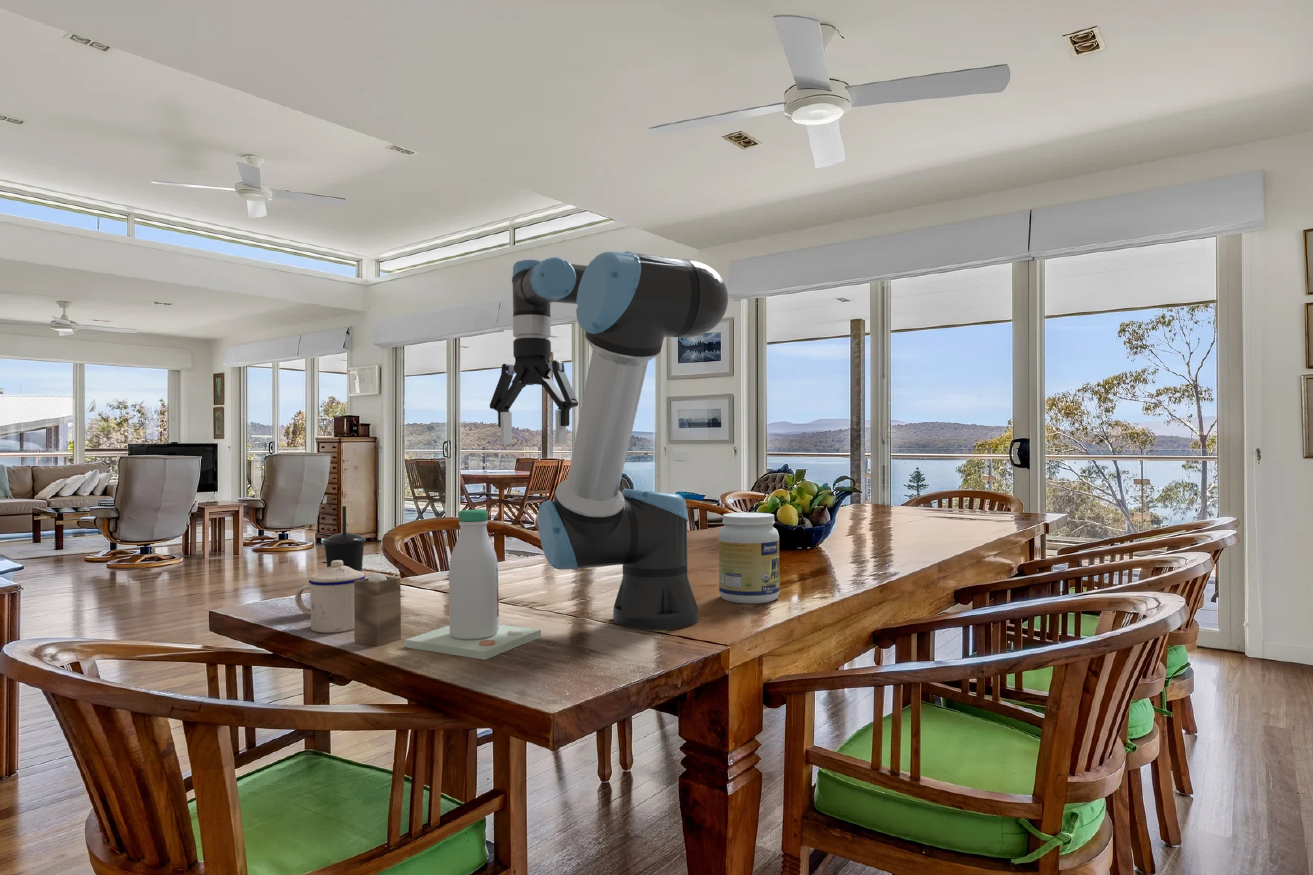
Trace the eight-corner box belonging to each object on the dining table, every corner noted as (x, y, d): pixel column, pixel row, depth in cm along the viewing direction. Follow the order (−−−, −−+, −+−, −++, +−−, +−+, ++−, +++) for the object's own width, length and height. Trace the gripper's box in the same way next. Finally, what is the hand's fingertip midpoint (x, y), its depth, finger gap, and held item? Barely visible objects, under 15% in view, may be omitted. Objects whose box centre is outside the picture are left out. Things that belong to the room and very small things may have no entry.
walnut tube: (400, 638, 123) (400, 577, 123) (377, 646, 119) (376, 583, 119) (378, 635, 126) (378, 575, 126) (354, 642, 121) (354, 580, 121)
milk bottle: (495, 640, 117) (494, 512, 117) (445, 641, 117) (444, 513, 117) (501, 627, 125) (500, 507, 125) (454, 629, 124) (453, 508, 124)
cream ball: (391, 590, 123) (391, 572, 123) (376, 594, 120) (376, 575, 120) (378, 589, 124) (377, 571, 124) (363, 592, 122) (363, 574, 122)
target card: (541, 637, 123) (540, 627, 123) (485, 659, 111) (485, 649, 111) (465, 626, 131) (465, 618, 131) (405, 647, 118) (405, 637, 118)
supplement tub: (771, 607, 143) (769, 518, 143) (710, 602, 148) (709, 516, 148) (786, 594, 155) (785, 512, 155) (729, 590, 159) (728, 510, 159)
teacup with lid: (374, 620, 136) (373, 556, 136) (351, 634, 127) (350, 565, 127) (309, 620, 137) (308, 556, 137) (282, 633, 127) (281, 565, 128)
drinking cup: (331, 605, 149) (330, 504, 149) (370, 604, 150) (369, 504, 150) (318, 614, 141) (316, 508, 141) (360, 613, 142) (358, 507, 142)
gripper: (594, 336, 150) (595, 442, 150) (495, 344, 161) (496, 443, 161) (573, 331, 143) (574, 443, 143) (471, 341, 154) (472, 444, 154)
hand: (533, 443), depth 152 cm, fingers open, 13 cm apart
